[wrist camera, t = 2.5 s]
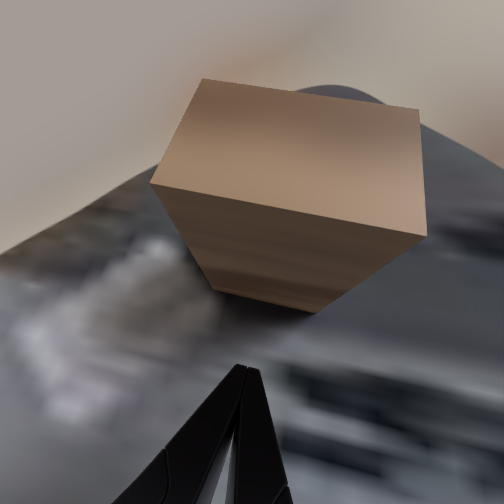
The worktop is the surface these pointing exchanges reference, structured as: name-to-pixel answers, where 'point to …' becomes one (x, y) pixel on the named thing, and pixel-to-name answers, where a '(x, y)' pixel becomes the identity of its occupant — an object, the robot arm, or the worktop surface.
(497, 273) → the worktop surface
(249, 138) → the walnut block
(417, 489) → the worktop surface
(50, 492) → the worktop surface
